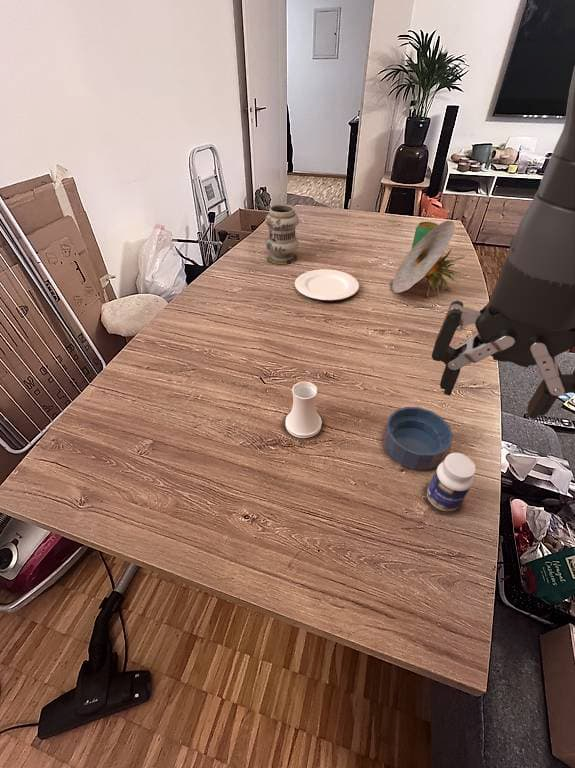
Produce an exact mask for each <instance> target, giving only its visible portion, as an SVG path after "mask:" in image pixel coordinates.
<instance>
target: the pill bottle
mask: <svg viewBox="0 0 575 768" xmlns="http://www.w3.org/2000/svg"><path fill="white" fill-rule="evenodd" d="M434 471H435V472H434V474H433V476H432V477H431V480H430V482H429V484H428V486H427V489H426V496H427V499H428V501H429V502H430V504H431V505H432V506H433V507H435V508H436V509H437V510H439V511H440V510H441V511H443V512H453V511H456V510H457V509H459V507H460V506H461V504H462V503H463V500H464V499H465V498H466V495H467V494H468V493H469V491H470V490H471V488H472V485H473V483H474V475H475V473H476V471H477V468H476V465H475V463H474V461H473V460H472V459H471V458H470V457H469V456H467V455H466V454H464V453H460V452H452V453H449V454H447V455H446V457H445V459H444V461H443V462H442V463H440V464H439V466H437V467H436V470H434Z"/></svg>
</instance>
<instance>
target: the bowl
mask: <svg viewBox="0 0 575 768" xmlns="http://www.w3.org/2000/svg"><path fill="white" fill-rule="evenodd" d="M387 418H388V419H387V422H386V425H385V427H384V432H383V436H382V441H383V442H382V443H383V448H384V450H385V451H386V453H387V454H388V456H389V457H390V459H392V460H393V461H395V463H396V462H397V463H398V464H399V465H401V466H402V467H405V468H407V469H411V470H414V471H429V470H431V469H434V468H437V467H438V466H439V464H440V463H442V462H444V460H445V458H446V457H447V456H448V453H449V450H450V449H451V447H452V443H453V437H454V434H453V431H452V429H451V426H450V424H449V423H448V422H447V421H446V420H445V419H444V418H443V417H442V416H440V415H439V414H437V413H435V412H434V411H432V410H429V409H426V408H423V407H419V406H405V407H401V408H398V409H396V410H394V411H393V412H392V413H391V414H390V415H389V416H388V417H387Z"/></svg>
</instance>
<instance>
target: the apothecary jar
mask: <svg viewBox="0 0 575 768" xmlns="http://www.w3.org/2000/svg"><path fill="white" fill-rule="evenodd" d="M264 222H265V225H266V226H267V227H268V237H267V238H266V240H265V248H266V249H267V250H268V251H269V252H270V253H272V254H270V255H269V256H268V259H269V260H268V261H270V262H271V263H273V264H276V265H287V264H289V263H293V262H295V261H296V256H295V255H294V254H293V253H294V252H295V251H296V250H297V249H298V248H299V244H300V242H299V239H298V238H297V237H296V227H297V226H298V225H299V222H300V218H299V216H298V214H297V213H296V210H295V207H294V206H292V205H290V204H287V203H286V204H285V203H278V204H274V205H271V206H270V207H269V212H268V213H267V214H266V216H265V218H264Z"/></svg>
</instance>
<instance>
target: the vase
mask: <svg viewBox="0 0 575 768" xmlns="http://www.w3.org/2000/svg"><path fill="white" fill-rule="evenodd" d="M291 390H292V391H291V392H292V400H293V401H292V407H291V411H290V412H289V413H288V414H287V415H286V417H285V429H286V430H287V432H288V433H289V434H290V435H292V436H293V437H296V438H298V439H309V438H311V437H314V436H316V435H318V434H319V432H320V431H321V429H322V424H323V422H322V418H321V416H320V414H319V413H318V412H317V407H316V399H317V394H318V387H317V385H315V384H314V383H313V382H309V381H299V382H297V383H295V384H294V385H293V386H292V388H291Z"/></svg>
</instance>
